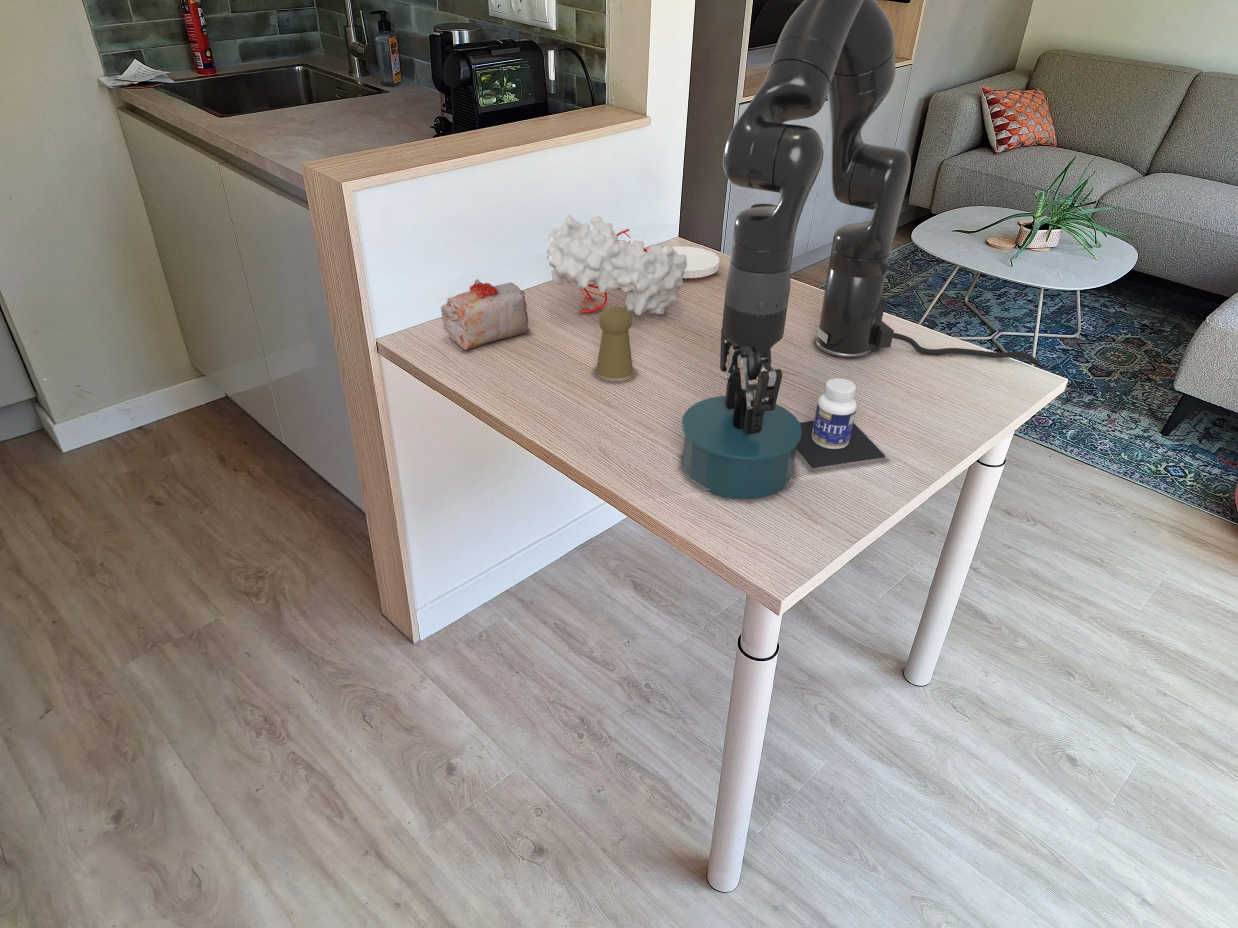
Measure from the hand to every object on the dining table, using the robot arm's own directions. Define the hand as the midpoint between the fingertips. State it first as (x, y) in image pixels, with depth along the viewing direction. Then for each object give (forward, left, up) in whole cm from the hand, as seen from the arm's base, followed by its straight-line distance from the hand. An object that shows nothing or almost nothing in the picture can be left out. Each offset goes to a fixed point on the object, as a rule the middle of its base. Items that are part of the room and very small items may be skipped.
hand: (742, 419), depth 110 cm
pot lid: (0, 0, -1) cm, 1 cm away
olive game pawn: (+9, -30, -8) cm, 32 cm away
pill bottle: (-15, -2, -7) cm, 17 cm away
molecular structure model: (+3, -54, -8) cm, 55 cm away
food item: (+27, -48, -8) cm, 56 cm away
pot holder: (-15, -2, -8) cm, 17 cm away
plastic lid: (-17, -70, -8) cm, 72 cm away
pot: (0, 0, -8) cm, 8 cm away
